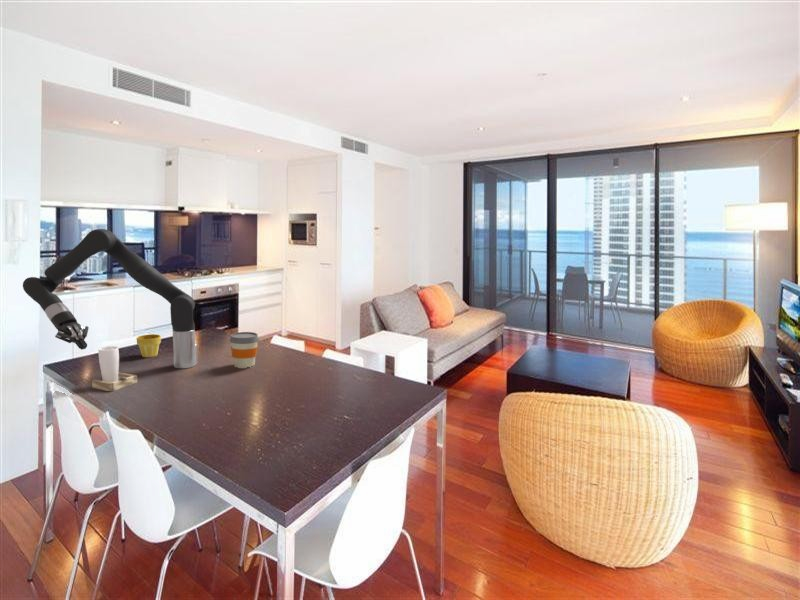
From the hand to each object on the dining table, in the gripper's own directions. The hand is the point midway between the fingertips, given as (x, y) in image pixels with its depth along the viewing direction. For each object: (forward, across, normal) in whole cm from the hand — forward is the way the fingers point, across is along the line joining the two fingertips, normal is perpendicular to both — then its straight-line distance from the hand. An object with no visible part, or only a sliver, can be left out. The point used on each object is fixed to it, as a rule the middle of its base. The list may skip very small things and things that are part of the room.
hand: (84, 347), depth 177 cm
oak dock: (+21, 0, -2) cm, 21 cm away
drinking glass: (+19, 0, 0) cm, 19 cm away
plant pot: (+6, +36, +14) cm, 39 cm away
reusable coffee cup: (+42, +43, -21) cm, 64 cm away
